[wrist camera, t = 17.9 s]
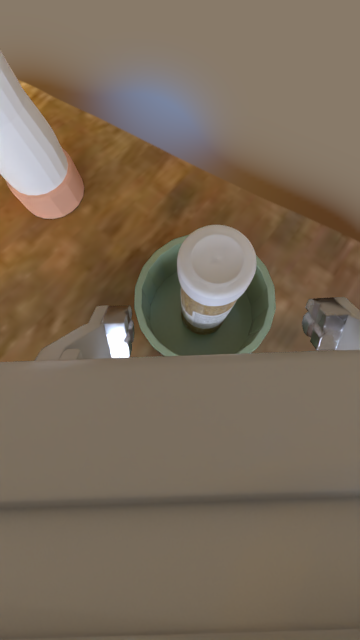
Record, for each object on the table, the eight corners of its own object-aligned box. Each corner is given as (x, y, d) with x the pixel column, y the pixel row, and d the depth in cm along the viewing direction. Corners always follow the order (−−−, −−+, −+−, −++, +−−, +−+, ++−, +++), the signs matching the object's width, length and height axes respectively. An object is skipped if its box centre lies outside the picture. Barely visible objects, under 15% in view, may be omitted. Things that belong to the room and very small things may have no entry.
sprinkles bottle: (182, 292, 29) (179, 219, 16) (225, 294, 29) (258, 223, 16) (179, 334, 28) (173, 295, 15) (224, 337, 28) (258, 300, 15)
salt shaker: (85, 215, 32) (-58, -20, 13) (23, 222, 32) (-210, -2, 13) (82, 162, 33) (-49, -116, 15) (23, 169, 33) (-184, -100, 15)
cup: (129, 350, 28) (113, 341, 22) (166, 251, 31) (161, 217, 24) (238, 386, 27) (254, 388, 21) (267, 281, 30) (290, 254, 23)
